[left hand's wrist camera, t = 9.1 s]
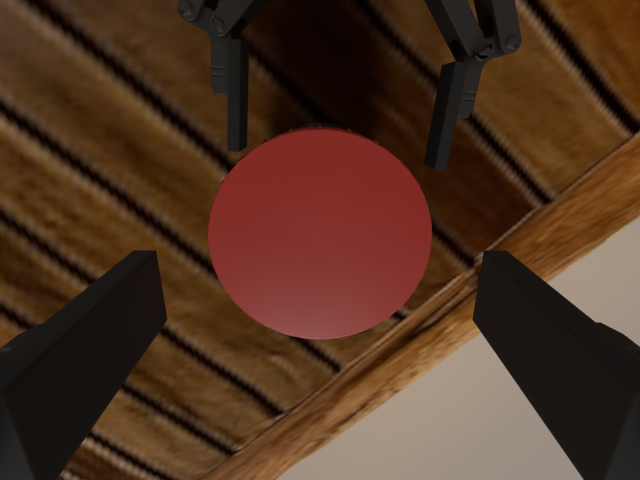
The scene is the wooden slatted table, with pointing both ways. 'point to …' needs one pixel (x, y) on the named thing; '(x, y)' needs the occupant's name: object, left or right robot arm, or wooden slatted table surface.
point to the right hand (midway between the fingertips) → (336, 158)
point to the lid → (319, 233)
